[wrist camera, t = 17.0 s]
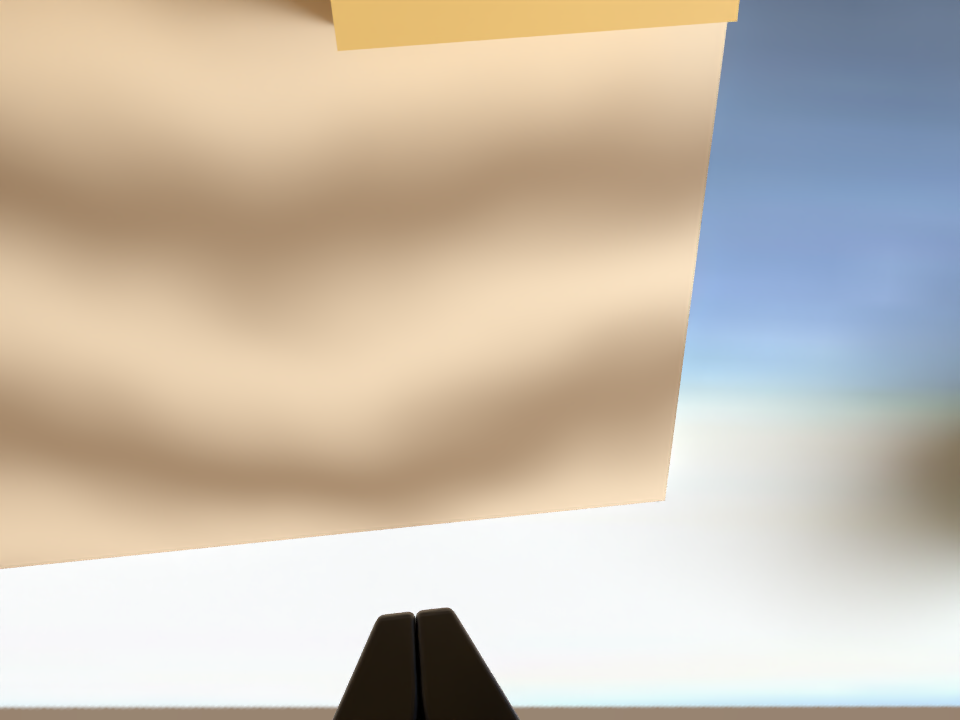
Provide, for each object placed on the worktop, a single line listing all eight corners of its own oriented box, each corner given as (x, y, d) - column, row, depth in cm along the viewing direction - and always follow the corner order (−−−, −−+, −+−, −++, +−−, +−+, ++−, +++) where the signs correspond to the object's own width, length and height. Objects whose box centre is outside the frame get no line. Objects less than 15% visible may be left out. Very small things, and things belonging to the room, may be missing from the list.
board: (-901, -491, 11) (-1009, -525, 10) (766, -462, 13) (793, -487, 12) (-200, 565, 22) (-224, 592, 21) (654, 479, 24) (664, 500, 23)
